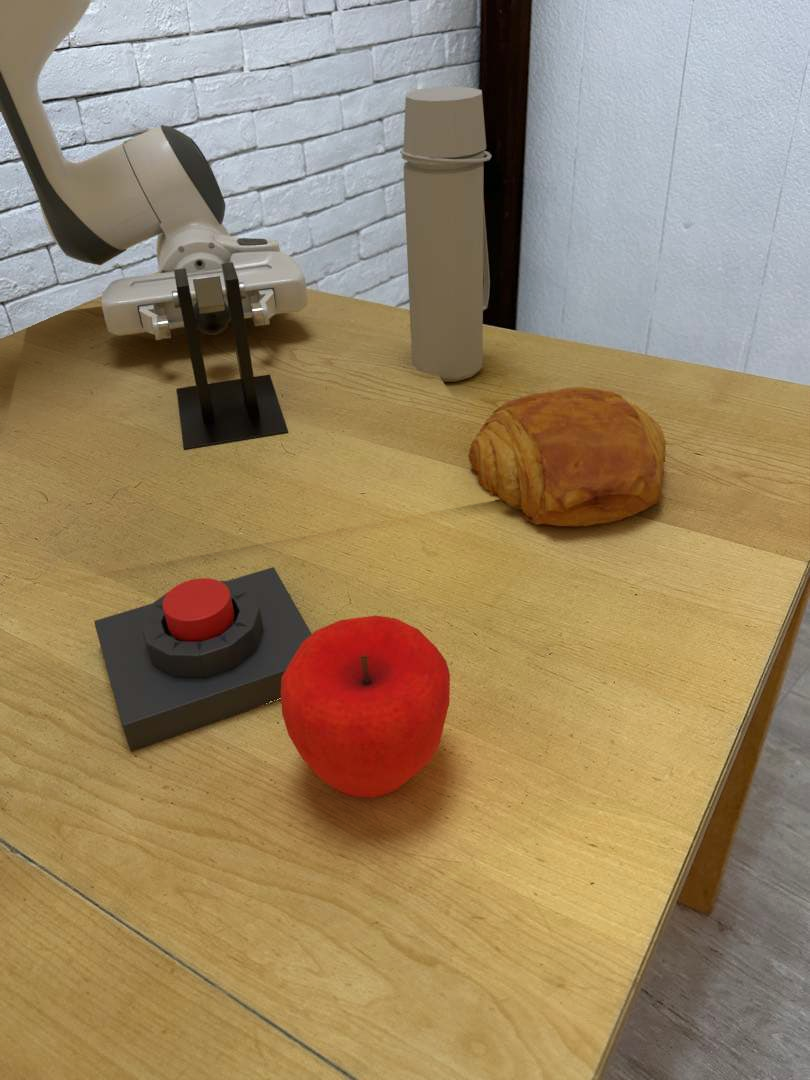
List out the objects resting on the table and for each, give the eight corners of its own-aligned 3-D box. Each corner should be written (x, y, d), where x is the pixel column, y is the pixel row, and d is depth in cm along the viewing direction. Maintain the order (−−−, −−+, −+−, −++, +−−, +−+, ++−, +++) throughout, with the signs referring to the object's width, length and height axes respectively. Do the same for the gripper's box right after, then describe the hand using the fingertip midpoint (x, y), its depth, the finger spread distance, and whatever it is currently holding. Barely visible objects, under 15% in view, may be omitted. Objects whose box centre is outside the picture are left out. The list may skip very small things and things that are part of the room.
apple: (473, 813, 47) (472, 707, 42) (304, 849, 46) (284, 743, 41) (432, 692, 54) (428, 590, 49) (285, 720, 53) (267, 618, 48)
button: (176, 651, 53) (170, 628, 52) (161, 611, 56) (155, 589, 55) (242, 630, 54) (238, 607, 53) (224, 592, 57) (220, 570, 56)
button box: (130, 752, 51) (114, 702, 49) (102, 646, 59) (86, 598, 56) (329, 683, 55) (322, 634, 53) (277, 591, 62) (270, 544, 60)
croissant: (466, 469, 78) (452, 386, 74) (644, 431, 78) (640, 345, 73) (494, 565, 66) (479, 473, 62) (704, 522, 66) (704, 425, 61)
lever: (196, 339, 88) (189, 302, 87) (233, 334, 88) (226, 297, 88) (191, 316, 75) (182, 272, 74) (234, 310, 75) (226, 266, 75)
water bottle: (448, 394, 86) (442, 106, 71) (394, 369, 90) (378, 95, 76) (515, 364, 90) (522, 87, 76) (460, 342, 95) (457, 79, 81)
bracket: (178, 400, 87) (148, 258, 79) (271, 386, 89) (251, 245, 81) (186, 461, 78) (152, 306, 70) (290, 443, 79) (268, 291, 71)
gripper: (94, 260, 93) (91, 307, 82) (290, 236, 97) (312, 278, 86) (109, 319, 97) (108, 371, 86) (297, 293, 101) (319, 341, 90)
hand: (212, 324), depth 86 cm, fingers open, 8 cm apart
